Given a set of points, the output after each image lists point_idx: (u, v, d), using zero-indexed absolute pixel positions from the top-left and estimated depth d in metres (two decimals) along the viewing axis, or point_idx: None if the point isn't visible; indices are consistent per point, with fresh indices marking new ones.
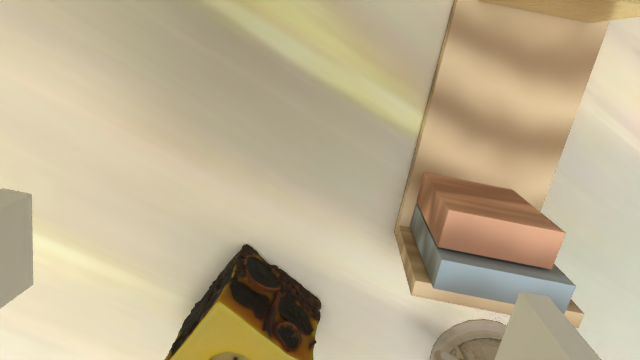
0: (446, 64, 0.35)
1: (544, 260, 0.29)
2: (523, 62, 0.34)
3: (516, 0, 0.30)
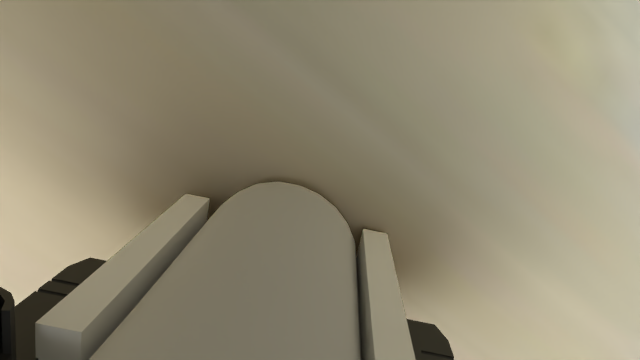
0: None
1: None
2: None
3: None
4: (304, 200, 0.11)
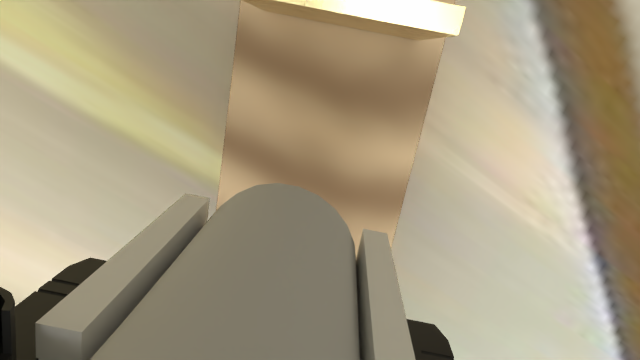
0: (236, 95, 0.26)
1: None
2: (337, 93, 0.26)
3: (288, 12, 0.21)
4: (303, 202, 0.11)
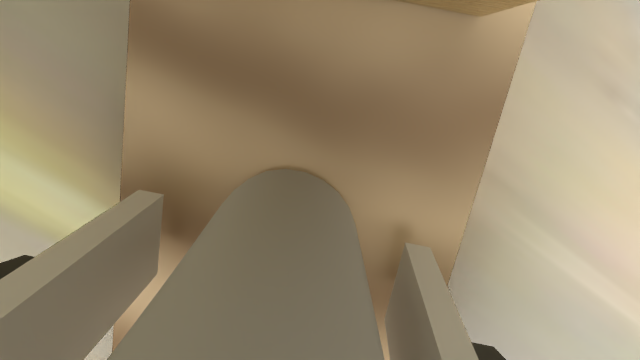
0: (137, 120, 0.14)
1: None
2: (322, 117, 0.14)
3: None
4: (312, 183, 0.13)
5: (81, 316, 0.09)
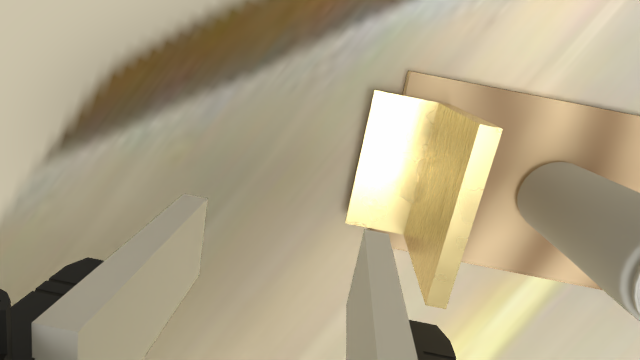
0: (483, 260, 0.30)
1: None
2: (491, 175, 0.28)
3: None
4: (528, 188, 0.26)
5: (144, 316, 0.09)
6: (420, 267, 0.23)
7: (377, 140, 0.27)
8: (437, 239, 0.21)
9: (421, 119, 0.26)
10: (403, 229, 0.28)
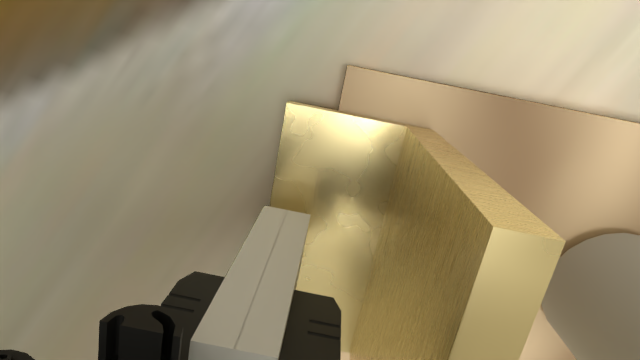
0: None
1: None
2: None
3: None
4: (565, 284, 0.14)
5: None
6: None
7: (296, 193, 0.15)
8: None
9: (375, 156, 0.14)
10: (349, 344, 0.16)
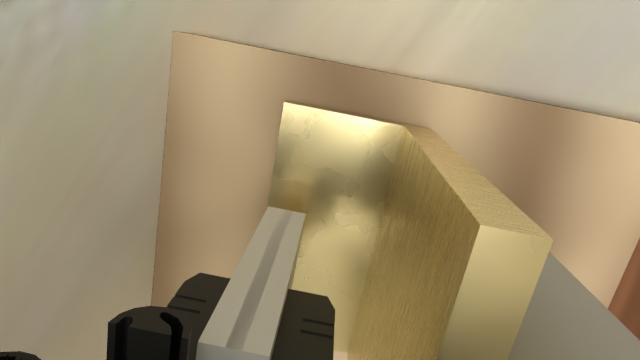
0: None
1: None
2: None
3: None
4: None
5: None
6: None
7: (293, 193, 0.15)
8: None
9: (372, 156, 0.14)
10: (347, 344, 0.16)
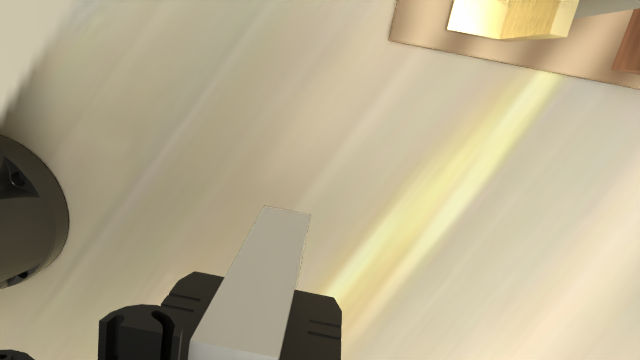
0: (492, 53, 0.33)
1: None
2: None
3: None
4: None
5: None
6: (534, 24, 0.26)
7: None
8: None
9: None
10: (499, 33, 0.32)
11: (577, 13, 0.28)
